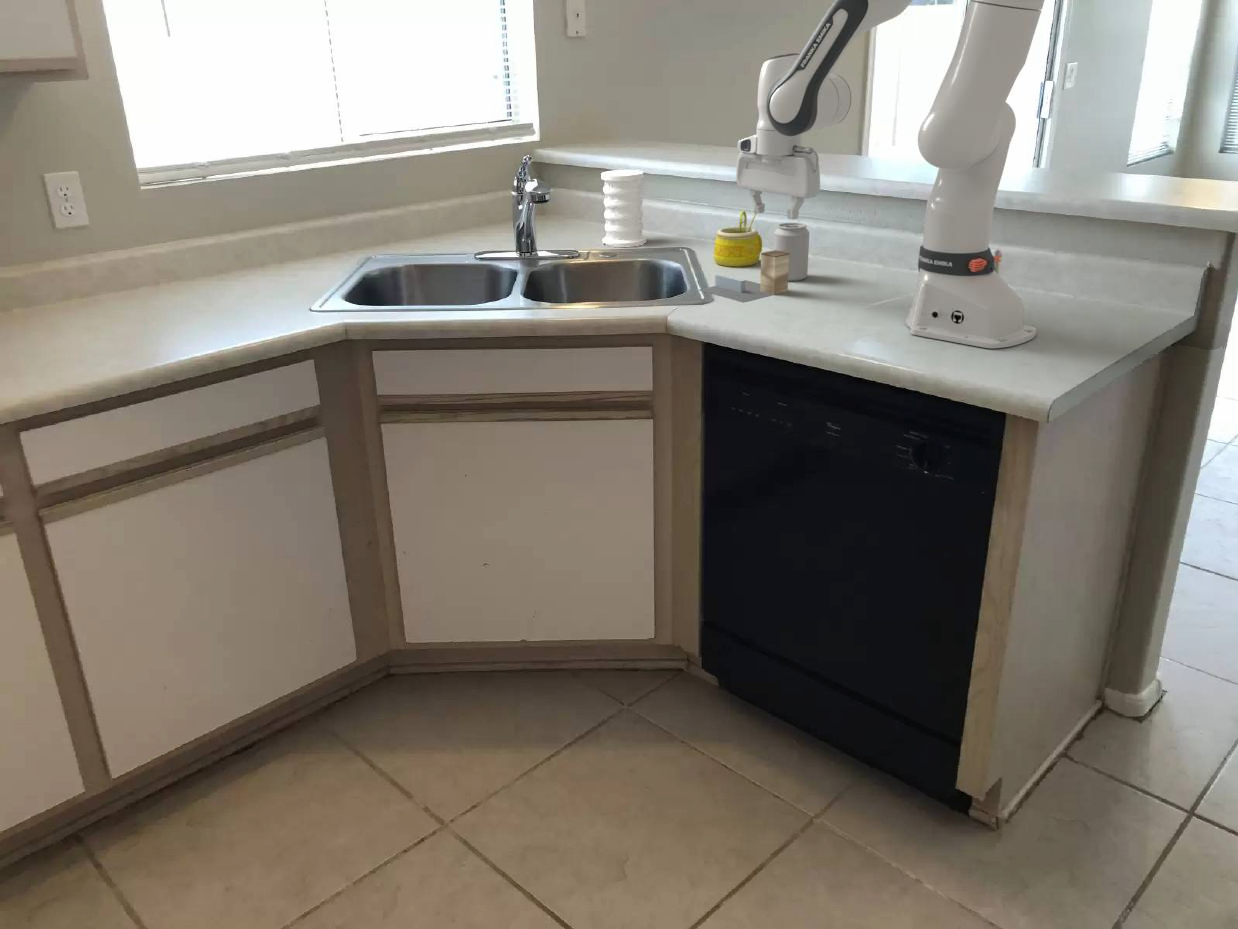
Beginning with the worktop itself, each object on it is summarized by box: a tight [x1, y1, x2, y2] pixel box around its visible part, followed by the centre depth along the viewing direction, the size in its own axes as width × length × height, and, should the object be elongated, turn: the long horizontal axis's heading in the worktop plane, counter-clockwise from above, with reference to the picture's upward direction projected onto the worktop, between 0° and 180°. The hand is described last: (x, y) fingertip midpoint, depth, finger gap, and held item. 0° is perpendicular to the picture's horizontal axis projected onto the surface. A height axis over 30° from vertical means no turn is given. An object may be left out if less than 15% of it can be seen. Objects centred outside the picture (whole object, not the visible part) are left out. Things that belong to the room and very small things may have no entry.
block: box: [759, 249, 789, 296], centre depth 195 cm, size 4×4×8 cm
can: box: [773, 222, 810, 282], centre depth 204 cm, size 8×8×12 cm
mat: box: [698, 279, 789, 304], centre depth 198 cm, size 14×13×1 cm
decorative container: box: [600, 169, 647, 246], centre depth 245 cm, size 12×12×18 cm
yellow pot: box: [713, 210, 763, 268], centre depth 220 cm, size 13×11×12 cm
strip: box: [714, 273, 746, 293], centre depth 199 cm, size 8×1×2 cm, turn 37°
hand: (775, 215), depth 190 cm, fingers open, 8 cm apart
